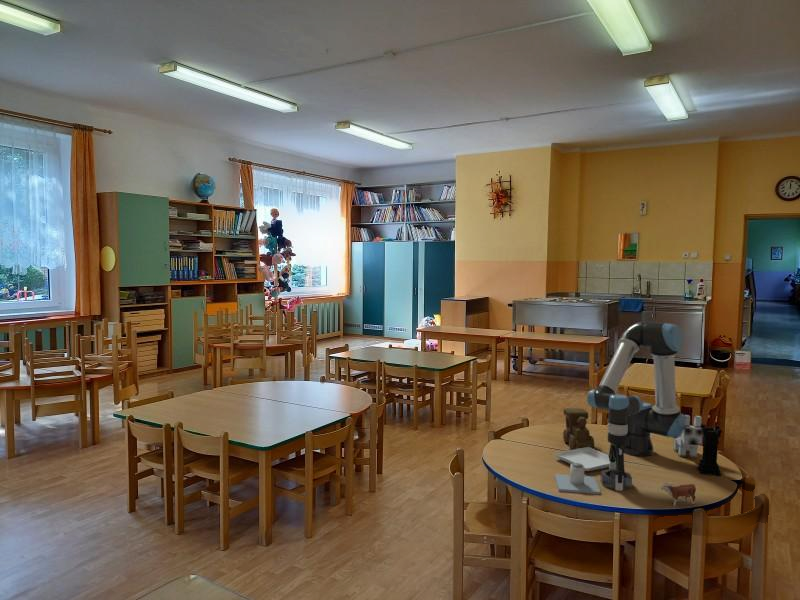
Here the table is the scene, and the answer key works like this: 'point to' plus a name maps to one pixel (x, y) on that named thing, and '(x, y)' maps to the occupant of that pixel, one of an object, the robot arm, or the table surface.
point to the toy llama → (689, 438)
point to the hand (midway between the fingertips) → (615, 483)
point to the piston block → (577, 481)
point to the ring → (614, 479)
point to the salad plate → (585, 458)
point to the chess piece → (710, 451)
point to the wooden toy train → (577, 429)
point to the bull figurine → (680, 491)
